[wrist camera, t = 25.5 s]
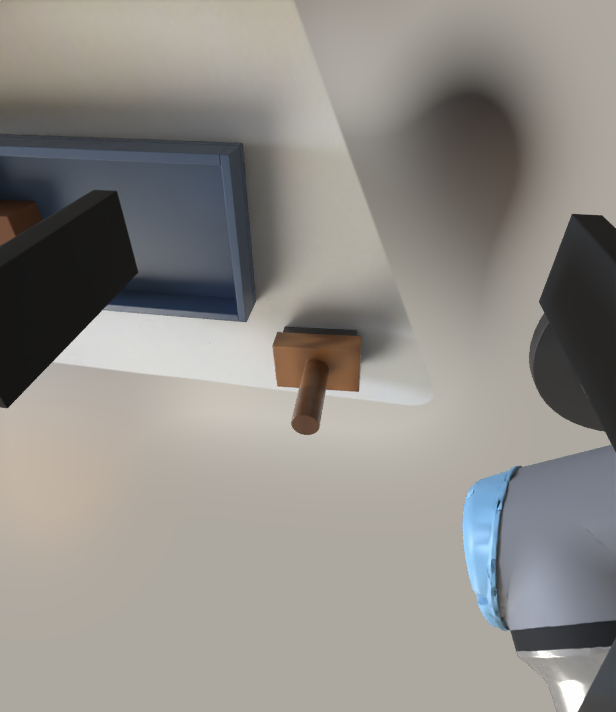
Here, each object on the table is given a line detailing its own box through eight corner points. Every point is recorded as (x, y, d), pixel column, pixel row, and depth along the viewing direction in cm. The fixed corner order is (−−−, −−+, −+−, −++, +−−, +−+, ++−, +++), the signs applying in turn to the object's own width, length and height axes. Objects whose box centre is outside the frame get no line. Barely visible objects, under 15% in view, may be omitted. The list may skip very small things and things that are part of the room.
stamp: (362, 327, 47) (355, 406, 38) (360, 368, 50) (354, 449, 41) (279, 324, 48) (253, 399, 39) (283, 363, 52) (260, 441, 42)
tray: (242, 142, 37) (229, 154, 34) (256, 301, 47) (246, 322, 44) (-30, 133, 40) (-65, 143, 37) (35, 284, 50) (11, 302, 47)
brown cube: (35, 201, 42) (7, 216, 39) (50, 240, 45) (25, 257, 42) (-3, 199, 43) (-34, 214, 40) (14, 238, 45) (-14, 255, 42)
